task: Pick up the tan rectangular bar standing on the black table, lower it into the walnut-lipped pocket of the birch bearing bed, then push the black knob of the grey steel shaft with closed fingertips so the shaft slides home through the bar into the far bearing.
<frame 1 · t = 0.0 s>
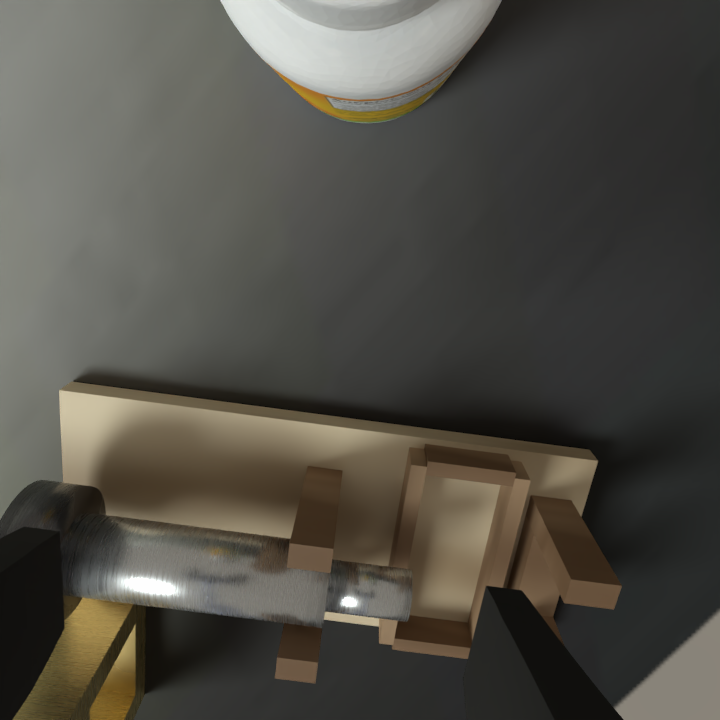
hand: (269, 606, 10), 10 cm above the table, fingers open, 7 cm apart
shaft: (218, 571, 17), point 4 cm above the table, slide at 0.0 cm
supplement bottle: (367, 22, 16), on the table
bearing bed: (241, 504, 21), on the table
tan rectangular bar: (120, 637, 23), on the table
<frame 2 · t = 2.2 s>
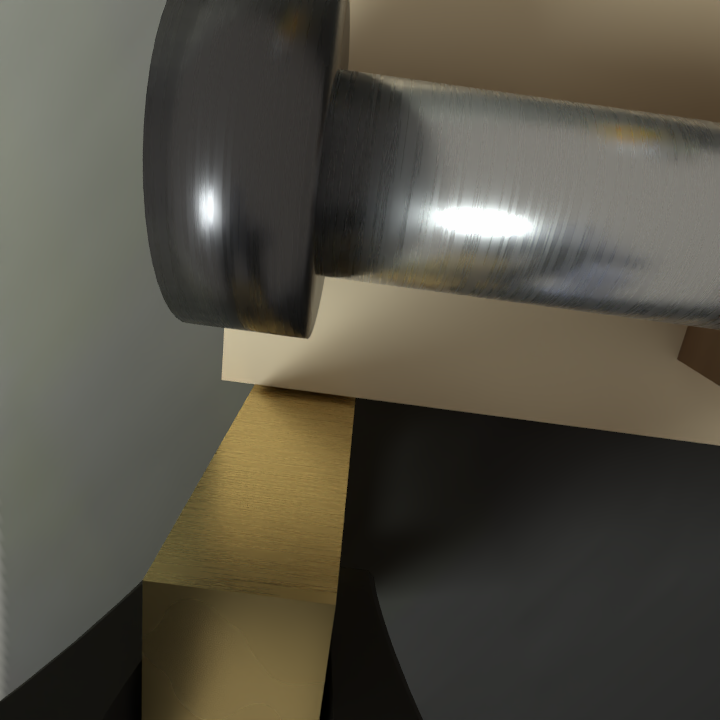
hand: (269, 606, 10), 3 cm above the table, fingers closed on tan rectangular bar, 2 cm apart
shaft: (678, 226, 7), point 4 cm above the table, slide at 0.0 cm
bearing bed: (572, 206, 10), on the table
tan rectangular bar: (295, 500, 13), on the table, touching gripper
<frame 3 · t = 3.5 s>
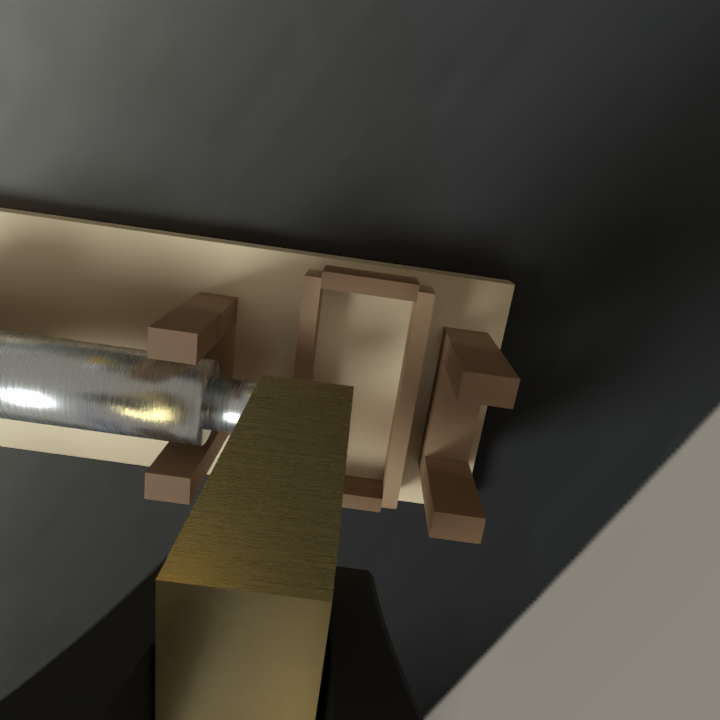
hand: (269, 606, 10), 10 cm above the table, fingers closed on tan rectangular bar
shaft: (87, 385, 16), point 4 cm above the table, slide at 0.0 cm
bearing bed: (135, 347, 19), on the table
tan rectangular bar: (295, 493, 13), point 7 cm above the table, touching gripper
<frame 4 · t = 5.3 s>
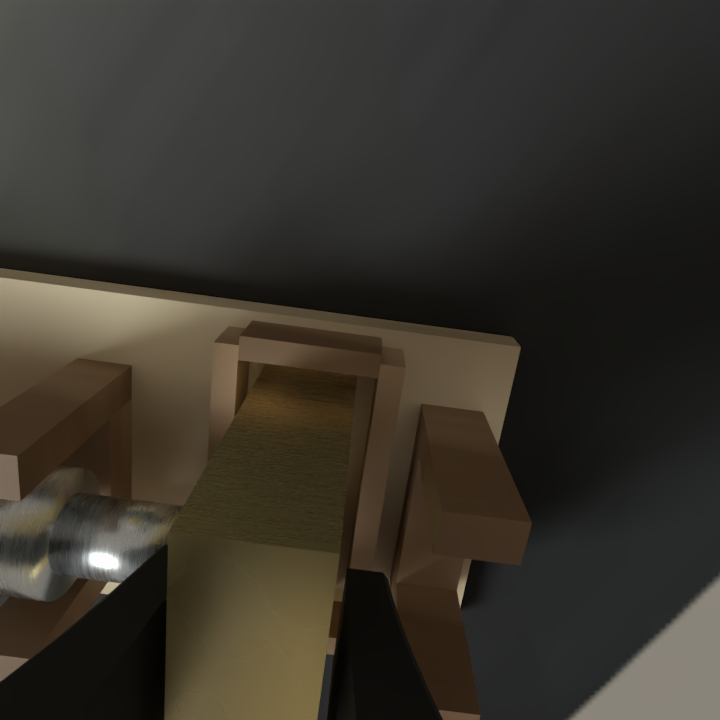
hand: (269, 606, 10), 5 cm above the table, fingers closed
bearing bed: (4, 426, 14), on the table
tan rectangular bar: (300, 481, 13), point 1 cm above the table, touching bearing bed
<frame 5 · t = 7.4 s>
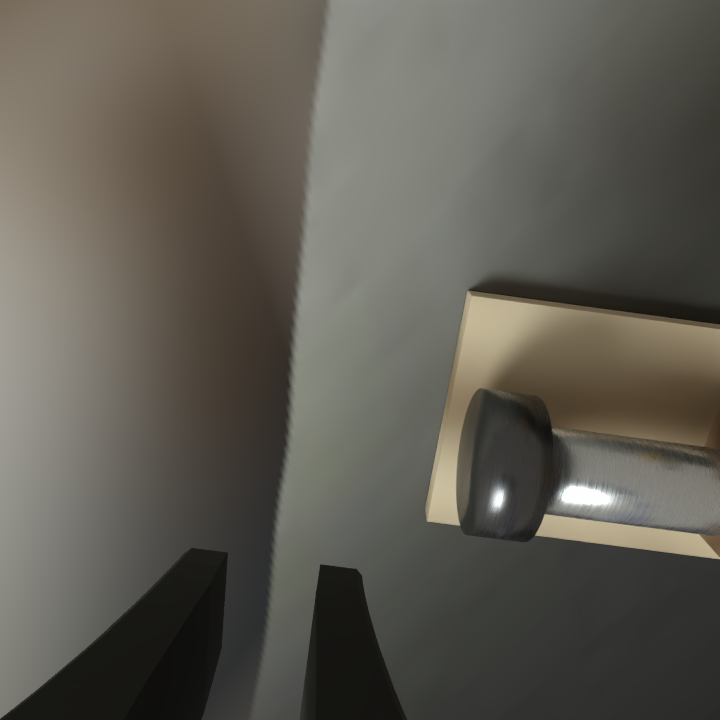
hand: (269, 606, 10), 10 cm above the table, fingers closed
shaft: (681, 487, 16), point 4 cm above the table, slide at 0.0 cm
bearing bed: (623, 430, 19), on the table
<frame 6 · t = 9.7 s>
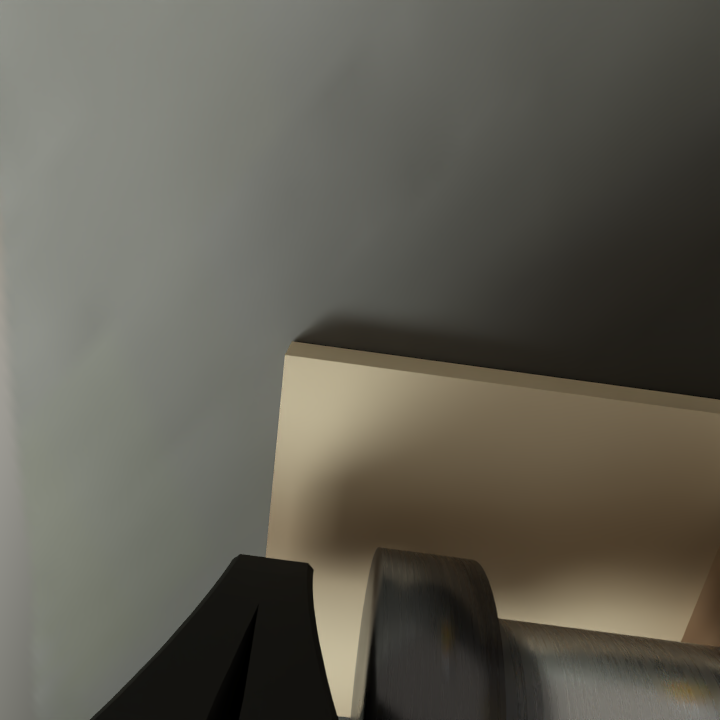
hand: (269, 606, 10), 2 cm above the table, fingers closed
bearing bed: (565, 564, 12), on the table
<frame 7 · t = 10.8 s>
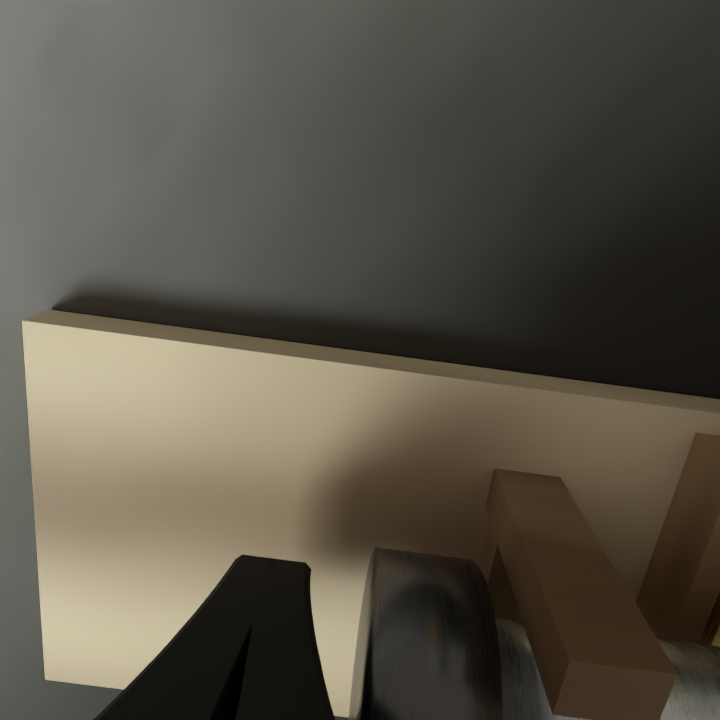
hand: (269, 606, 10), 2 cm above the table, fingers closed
bearing bed: (352, 536, 12), on the table
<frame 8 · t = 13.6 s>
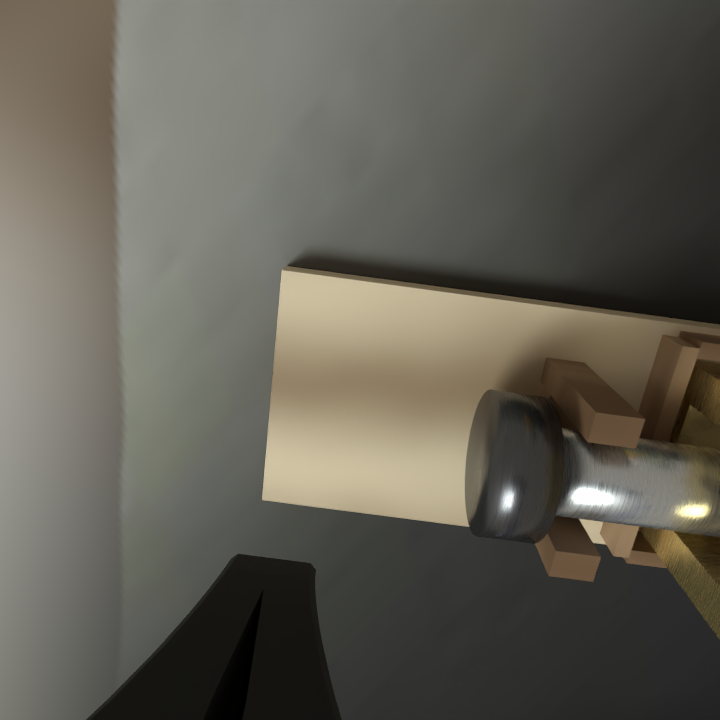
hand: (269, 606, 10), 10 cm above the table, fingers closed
shaft: (690, 488, 16), point 4 cm above the table, slide at 6.0 cm
bearing bed: (455, 408, 19), on the table
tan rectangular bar: (686, 447, 18), point 1 cm above the table, touching bearing bed
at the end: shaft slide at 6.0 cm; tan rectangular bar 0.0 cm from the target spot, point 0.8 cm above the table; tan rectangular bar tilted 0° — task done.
